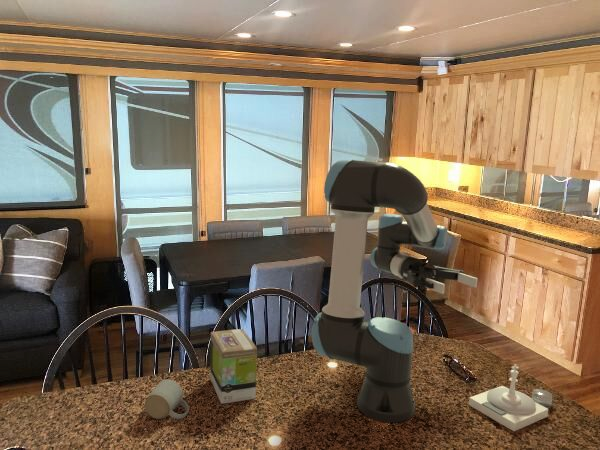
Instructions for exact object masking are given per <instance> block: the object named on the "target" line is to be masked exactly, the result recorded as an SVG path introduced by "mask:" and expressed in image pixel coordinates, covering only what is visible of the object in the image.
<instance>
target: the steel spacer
mask: <svg viewBox="0 0 600 450" xmlns="http://www.w3.org/2000/svg"><path fill="white" fill-rule="evenodd" d="M531 398H532V399H533V400H534V402H536V403H538V404H540V405H542V406H544V407H545V408H547V409H550V408H551V407H552V403H553V394H552V393H551V392H550V391H548V390H546V389H542V388H535V389H533V390H532V394H531Z"/></svg>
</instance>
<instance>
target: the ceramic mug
mask: <svg viewBox="0 0 600 450" xmlns="http://www.w3.org/2000/svg"><path fill="white" fill-rule="evenodd" d="M183 398H184V392H183V389H182V387H181V385H180V384H179V383H178V382H176V381H175V380H173V379H171V378H170V379H168V378H167V379H162V380H161V381H159V382H158V383H157V385H156V386H155V387H154V389H153V390H151V392H150V393H149V394H148V396H147V397H146V399H145V402H144V409H145V411H146V412H147V414H148V415H149V416H150V417H151V418H153V419H156V420H162V419H164V418H167V417H168V416H169V417H172V419H176V420H182V419H185V417H187V416H188V413H189V411H190V406H189V404H188V403H187V402H186V401H185V400H184V399H183ZM179 405H181V406H182V407H183V408H184V410H185V412H184V413H181V414H179V413H177V412H175V411H174V410H175V409H176V408H177V407H178V406H179Z"/></svg>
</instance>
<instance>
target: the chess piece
mask: <svg viewBox="0 0 600 450" xmlns="http://www.w3.org/2000/svg"><path fill="white" fill-rule="evenodd" d="M510 367H511V370H510V371H509V372H510V375H511V376H510V378H509V379H508V380H509V382H510V384H509V385H510V386H509V388H508V389H509V392H507V393H503V394H502V396H501V398H502V400H503V401H505V402H507V403H510V404H520V403H521V398H520V397H519V396H518V395H516V393H515V390H516V383H518V382H519V381H518V379H517V377H518V375H519V371H518V370H519V366H517V363H515V364H514V365H512V366H510Z"/></svg>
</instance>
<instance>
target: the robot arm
mask: <svg viewBox="0 0 600 450" xmlns="http://www.w3.org/2000/svg"><path fill="white" fill-rule="evenodd" d="M324 181H325V182H324V186H323V193H324V199H325V200H326V202H328V203H331V205H330V210H331V212H332V213H333V214H334V216H335V221H334V233H333V246H332V257H331V269H330V279H329V290H328V302H327V304H326V305H324V306H323V307H322V309H321V312H319V313H318V314H317V315H316V316H315V318H314V320H313V324H312V326H311V341H312V345H313V348H314V350H315V352H316V353H317V354H318V355H320V356H322V357H326V358H328V359H330V360H336V361H340V362H343V363H347V364H353V365H356V366H361V367H364V368H365V376H364V380H363V382H362V384H361V388H360V389H359V391H358V393H357V401H356V405H357V408H358V410H359V411H360V412H361V413H362V414H363V415H365V416H366V417H368V418H370V419H372V420H375V421H378V422H383V423H401V422H405V421H408V420H409V419H411V418H412V417H413V416H414V414H415V411H416V400H415V397H414V394H413V390H412V386H411V373H412V361H413V352H414V349H415V348H414V335H413V331H412V330H411V328H410V327H409V326H408V325H407V324H405V323H404V322H401V321H399V320H397V319H394V318H391V317H381V316H379V317H378V316H377V317H373V318H370V320H369V321H365V315H366V314H365V311H364V310H363V309H362V308H361V295H362V286H363V275H364V264H365V253H366V245H367V242H366V241H367V231H368V220H369V219H370V218H371V217H372V216H373V215H374V214H375V208H387V209H393V210H395V211H396V212H397V213H399V214H396V213H384V214H381V215H380V216H379V221H378V222H379V223H378V227H377V229H378V230H377V231H378V232H377V234H378V235H377V246H376V247H375V248H374V249H372V251H371V253H370V256H369V261H370V264H371V266H373V267H374V268H376V269H378V271H381V272H385V273H388V274H390V275H394V276H396V277H398V278H399V279H403V280H407V282H408V283H409V284H410V285H411V286H413V287H414V288H419V289H420V290H421V291H422V290H423V291H424V290H425V288H426V289H428V290H431V291H433V292H436V293H439V294H441V295H444V294H445V290H446V289H445V288H446V284H445V283H443V282H440V281H436V280H438V279H442V280H451V281H457V282H458V283H460V284H463V285H467V286H469V287H472V288H478V279H479V278H478V277H474V276H471V275H468V274H465V270H462V269H459V270H458V269H453V268H449V267H448V268H447V267H442V266H438V265H432V266H429V265H425V263H424V262H423V260H422V259H420V258H417V257H415V256H414V257H413V256H411V255H408V254H405V253H402V252H401V245H404V246H411V247H417V248H424V249H431V250H443V249H445V248H446V245H447V243H448V242H447V240H448V229H447V227H446V226H443V225H440V224H439V225H437V223H436V221H435V219H434V217H433V214H432V211H431V209H430V207H429V204H428V198H429V197H428V192H427V189H426V187H425V185H424V184H423V182H422V181H421V180H420V178H419V177H417V176H416V175H415V174H414V173H413V172H411V171H410V170H408V169H407V168H405V167H403V166H401V165H399V164H397V163H392V162H385V161H384V162H383V161H382V162H380V161H365V160H355V159H347V160H346V159H345V160H337V161H336V162H335V163H333V164H332V165H331V167H330V168H329V170H328V172H327V173H326V176H325V180H324ZM400 214H401V215H400ZM403 219H404V220H405V221H403Z"/></svg>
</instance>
